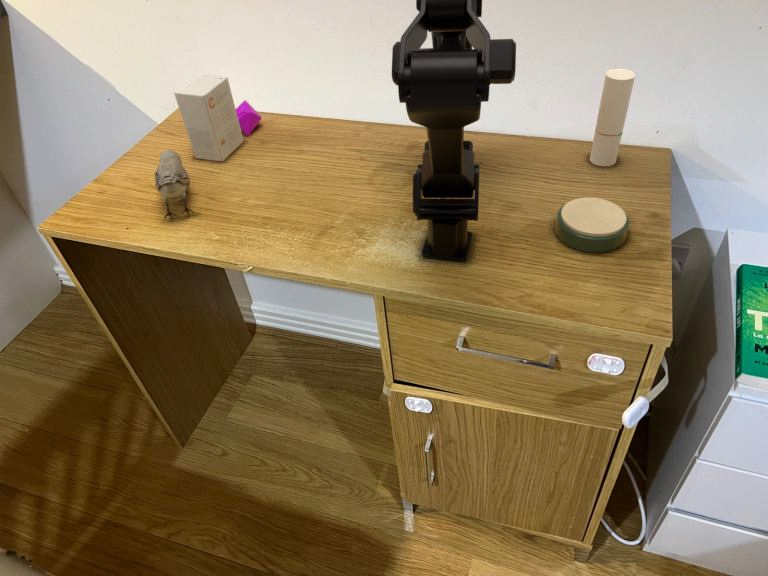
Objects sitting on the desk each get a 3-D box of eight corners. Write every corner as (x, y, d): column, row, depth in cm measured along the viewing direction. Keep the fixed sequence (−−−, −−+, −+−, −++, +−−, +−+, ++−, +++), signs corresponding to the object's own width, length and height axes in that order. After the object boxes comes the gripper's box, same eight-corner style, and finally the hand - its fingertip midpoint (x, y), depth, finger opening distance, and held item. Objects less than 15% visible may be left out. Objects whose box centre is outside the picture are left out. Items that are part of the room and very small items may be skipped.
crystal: (230, 129, 119) (225, 108, 116) (252, 119, 122) (247, 98, 119) (246, 137, 116) (240, 115, 113) (267, 126, 119) (263, 105, 116)
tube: (598, 168, 99) (615, 81, 89) (585, 156, 103) (600, 71, 93) (620, 163, 100) (640, 76, 90) (607, 151, 103) (625, 66, 93)
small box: (217, 138, 117) (198, 73, 108) (244, 141, 115) (228, 76, 106) (194, 158, 111) (172, 92, 103) (222, 162, 110) (203, 95, 101)
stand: (627, 256, 82) (632, 239, 80) (553, 248, 85) (556, 232, 83) (624, 215, 89) (628, 198, 87) (556, 209, 92) (559, 192, 90)
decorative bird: (191, 170, 108) (179, 133, 103) (197, 217, 97) (184, 178, 92) (161, 176, 107) (147, 139, 102) (164, 225, 96) (148, 186, 91)
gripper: (521, -18, 83) (512, 36, 98) (389, -13, 85) (400, 39, 101) (519, 59, 82) (510, 101, 98) (386, 62, 85) (398, 102, 100)
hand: (454, 84), depth 99 cm, fingers closed on beverage can, 5 cm apart
